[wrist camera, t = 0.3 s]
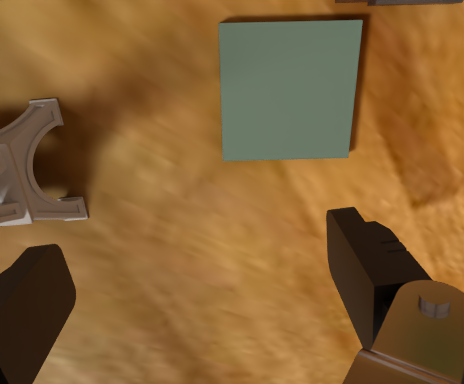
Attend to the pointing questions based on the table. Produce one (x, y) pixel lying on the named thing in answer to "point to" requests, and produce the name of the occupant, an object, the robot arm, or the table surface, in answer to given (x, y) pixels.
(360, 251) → the robot arm
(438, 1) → the block
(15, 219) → the eiffel tower
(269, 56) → the mat
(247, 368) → the table surface
